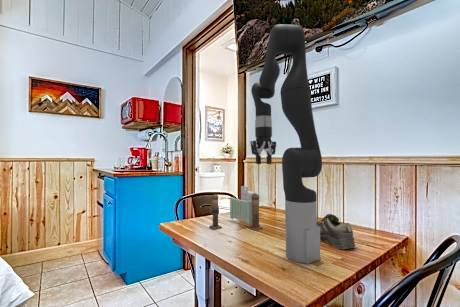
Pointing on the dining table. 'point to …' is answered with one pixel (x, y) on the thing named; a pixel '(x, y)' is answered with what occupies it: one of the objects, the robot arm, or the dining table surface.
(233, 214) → the gate
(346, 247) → the hiking shoe
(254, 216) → the hinge post
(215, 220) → the post
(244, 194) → the ink box
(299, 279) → the dining table surface
